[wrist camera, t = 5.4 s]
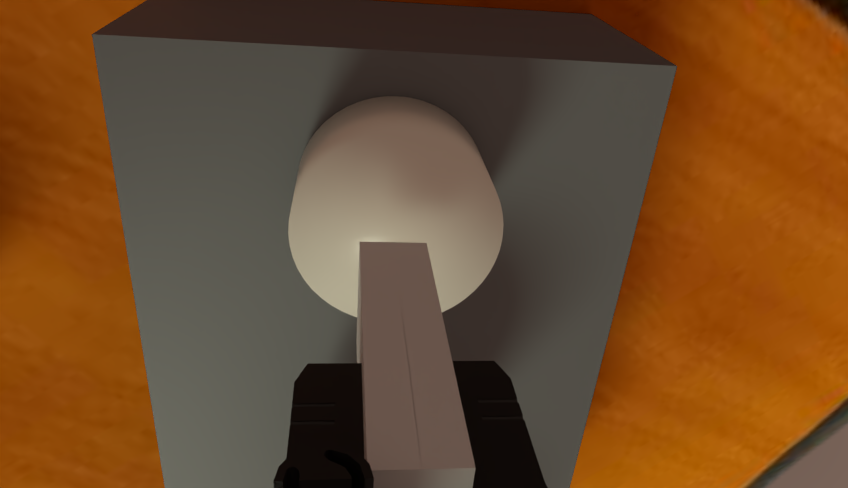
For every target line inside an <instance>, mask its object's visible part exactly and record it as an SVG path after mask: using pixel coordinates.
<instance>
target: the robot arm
mask: <svg viewBox="0 0 848 488" xmlns="http://www.w3.org/2000/svg"><path fill="white" fill-rule="evenodd" d="M356 344H357V363H308V364H307V365H306V367H305V368H304V369H303V371H302V372H301V373H300V375H299V376H298V378H297V379H296V380H295V382H294V390H293V400H292V409H291V419H290V428H289V438H288V447H287V457H286V460H285V461H284V462H283V463H282V464H281V465H280V466H279V467H278V470H277V473H276V475H275V478H274V481H273V485H274V488H548V487H547V485H546V483H545V481H544V478H543V475H542V472H541V469H540V466H539V463H538V460H537V457H536V454H535V451H534V448H533V445H532V442H531V438H530V435H529V432H528V429H527V426H526V423H525V420H523V414H522V411H521V408H520V405H519V403H518V402H517V396H516V393H515V390H514V387H513V384H512V380H511V378H510V377H509V376H508V375H507V374H506V373H505V372H504V370H503V369H502V368H501V367H500V366H499V365H498V364H497V363H496V362H495V361H452V357H451V353H450V348H449V344H448V339H447V334H446V330H445V325H444V321H443V316H442V311H441V307H440V302H439V298H438V293H437V289H436V284H435V279H434V275H433V270H432V266H431V261H430V256H429V252H428V247H427V243H413V242H360V243H359V275H358V307H357V339H356Z"/></svg>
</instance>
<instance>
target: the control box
mask: <svg viewBox="0 0 848 488" xmlns="http://www.w3.org/2000/svg"><path fill="white" fill-rule="evenodd" d="M92 37H93V43H94V50H95V56H96V62H97V68H98V75H99V81H100V87H101V93H102V99H103V106H104V112H105V118H106V124H107V130H108V137H109V143H110V149H111V155H112V162H113V168H114V174H115V180H116V186H117V193H118V199H119V205H120V211H121V217H122V224H123V230H124V236H125V242H126V249H127V255H128V261H129V267H130V273H131V280H132V286H133V292H134V298H135V305H136V311H137V317H138V323H139V329H140V336H141V342H142V348H143V354H144V360H145V367H146V373H147V379H148V385H149V392H150V398H151V404H152V410H153V416H154V423H155V429H156V435H157V441H158V447H159V454H160V460H161V466H162V472H163V479H164V485H165V488H274V485H273V481H274V478H275V475H276V473H277V470H278V467H279V466H280V465H281V464H282V463H283V462H284V461H285V460H286V457H287V447H288V438H289V428H290V419H291V409H292V400H293V390H294V382H295V380H296V379H297V378H298V376H299V375H300V373H301V372H302V371H303V369H304V368H305V367H306V365H307V364H308V363H357V344H356V339H357V317H354V316H352V315H349V314H347V313H345V312H342V311H340V310H339V309H337V308H335V307H333V306H331V305H330V304H329V303H327V302H326V301H324V300H323V299H322V298H320V297H319V296H318V295H317V294H316V293H315V292H314V291H313V290H312V289H311V288H310V286H309V285H308V284H307V283H306V281H305V280H304V279H303V277H302V276H301V274H300V272H299V271H298V269H297V267H296V264H295V262H294V259H293V257H292V253H291V249H290V245H289V236H288V226H289V216H290V211H291V206H292V201H293V195H294V190H295V185H296V180H297V175H298V170H299V165H300V161H301V158H302V155H303V152H304V150H305V148H306V146H307V144H308V142H309V140H310V139H311V138H312V136H313V135H314V133H315V132H316V131H317V130H318V129H319V128H320V126H321V125H322V124H323V123H324V122H325V121H326V120H328V119H329V118H330V117H332V116H333V115H334V114H335V113H337V112H339V111H340V110H342V109H344V108H345V107H347V106H350V105H352V104H354V103H357V102H359V101H363V100H367V99H370V98H376V97H383V96H400V97H409V98H414V99H418V100H422V101H425V102H427V103H430V104H432V105H435V106H437V107H438V108H440V109H442V110H444V111H446V112H447V113H448V114H450V115H451V116H452V117H454V118H455V119H456V120H457V121H458V122H459V123H460V124H461V125H462V126H463V127H464V128H465V129H466V131H467V132H468V133H469V134H470V136H471V137H472V139H473V141H474V143H475V144H476V146H477V148H478V151H479V153H480V155H481V157H482V160H483V162H484V164H485V166H486V169H487V171H488V173H489V176H490V178H491V180H492V182H493V185H494V187H495V189H496V192H497V194H498V197H499V200H500V203H501V208H502V212H503V225H504V226H503V238H502V243H501V247H500V251H499V254H498V256H497V259H496V261H495V263H494V265H493V267H492V269H491V271H490V272H489V274H488V275H487V277H486V278H485V279H484V281H483V282H482V283H481V284H480V285H479V286H478V288H477V289H476V290H475V291H474V292H473V293H471V294H470V295H469V296H468V297H467V298H466V299H464V300H463V301H461V302H460V303H458V304H457V305H455V306H454V307H452V308H450V309H448V310H446V311H444V312H442V316H443V321H444V325H445V330H446V334H447V339H448V344H449V348H450V353H451V357H452V361H495V362H496V363H497V364H498V365H499V366H500V367H501V368H502V369H503V370H504V372H505V373H506V374H507V375H508V376H509V377H510V378H511V380H512V384H513V387H514V390H515V393H516V396H517V402H518V403H519V405H520V408H521V411H522V414H523V420H525V423H526V426H527V429H528V432H529V435H530V438H531V442H532V445H533V448H534V451H535V454H536V457H537V460H538V463H539V466H540V469H541V472H542V475H543V478H544V481H545V483H546V485H547V487H548V488H569V487H570V484H571V480H572V476H573V472H574V468H575V464H576V460H577V456H578V452H579V448H580V444H581V440H582V437H583V433H584V429H585V425H586V421H587V417H588V413H589V409H590V405H591V401H592V397H593V393H594V390H595V386H596V382H597V378H598V374H599V370H600V366H601V362H602V358H603V354H604V350H605V346H606V343H607V339H608V335H609V331H610V327H611V323H612V319H613V315H614V311H615V307H616V303H617V300H618V296H619V292H620V288H621V284H622V280H623V276H624V272H625V268H626V264H627V260H628V256H629V253H630V249H631V245H632V241H633V237H634V233H635V229H636V225H637V221H638V217H639V213H640V209H641V206H642V202H643V198H644V194H645V190H646V186H647V182H648V178H649V174H650V170H651V166H652V162H653V159H654V155H655V151H656V147H657V143H658V139H659V135H660V131H661V127H662V123H663V119H664V115H665V112H666V108H667V104H668V100H669V96H670V92H671V88H672V84H673V80H674V76H675V72H676V68H677V66H676V65H674V64H673V63H671V62H669V61H668V60H666V59H664V58H663V57H661V56H659V55H658V54H656V53H655V52H653V51H651V50H650V49H648V48H646V47H645V46H643V45H641V44H640V43H638V42H636V41H635V40H633V39H632V38H630V37H628V36H627V35H625V34H623V33H622V32H620V31H618V30H617V29H615V28H613V27H612V26H610V25H608V24H607V23H605V22H604V21H602V20H600V19H599V18H597V17H595V16H594V15H592V14H580V13H564V12H548V11H532V10H516V9H500V8H484V7H468V6H452V5H436V4H421V3H405V2H389V1H373V0H147V1H145V2H143V3H142V4H140V5H139V6H137V7H135V8H134V9H132V10H130V11H129V12H127V13H126V14H124V15H122V16H121V17H119V18H118V19H116V20H114V21H113V22H111V23H109V24H108V25H106V26H105V27H103V28H101V29H100V30H98V31H97V32H95V33H93V34H92Z"/></svg>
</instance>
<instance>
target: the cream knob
mask: <svg viewBox="0 0 848 488" xmlns="http://www.w3.org/2000/svg"><path fill="white" fill-rule="evenodd" d="M503 226H504V225H503V212H502V208H501V203H500V200H499V197H498V194H497V192H496V189H495V187H494V185H493V182H492V180H491V178H490V176H489V173H488V171H487V169H486V166H485V164H484V162H483V160H482V157H481V155H480V153H479V151H478V148H477V146H476V144H475V143H474V141H473V139H472V137H471V136H470V134H469V133H468V132H467V131H466V129H465V128H464V127H463V126H462V125H461V124H460V123H459V122H458V121H457V120H456V119H455V118H454V117H452V116H451V115H450V114H448V113H447V112H446V111H444V110H442V109H440V108H438V107H437V106H435V105H432V104H430V103H427V102H425V101H422V100H418V99H414V98H409V97H400V96H383V97H376V98H370V99H367V100H363V101H359V102H357V103H354V104H352V105H350V106H347V107H345V108H344V109H342V110H340V111H339V112H337V113H335V114H334V115H333V116H332V117H330V118H329V119H328V120H326V121H325V122H324V123H323V124H322V125H321V126H320V128H319V129H318V130H317V131H316V132H315V133H314V135H313V136H312V138H311V139H310V140H309V142H308V144H307V146H306V148H305V150H304V152H303V155H302V158H301V161H300V165H299V170H298V175H297V180H296V185H295V190H294V195H293V201H292V206H291V211H290V216H289V226H288V236H289V245H290V249H291V253H292V257H293V259H294V262H295V264H296V267H297V269H298V271H299V272H300V274H301V276H302V277H303V279H304V280H305V281H306V283H307V284H308V285H309V286H310V288H311V289H312V290H313V291H314V292H315V293H316V294H317V295H318V296H319V297H320V298H322V299H323V300H324V301H326V302H327V303H329V304H330V305H331V306H333V307H335V308H337V309H339V310H340V311H342V312H345V313H347V314H349V315H352V316H354V317H357V307H358V275H359V243H360V242H413V243H427V247H428V252H429V256H430V261H431V266H432V270H433V275H434V279H435V284H436V289H437V293H438V298H439V302H440V307H441V311H442V312H444V311H446V310H448V309H450V308H452V307H454V306H455V305H457V304H458V303H460V302H461V301H463V300H464V299H466V298H467V297H468V296H469V295H470V294H471V293H473V292H474V291H475V290H476V289H477V288H478V286H479V285H480V284H481V283H482V282H483V281H484V279H485V278H486V277H487V275H488V274H489V272H490V271H491V269H492V267H493V265H494V263H495V261H496V259H497V256H498V254H499V251H500V247H501V243H502V238H503Z"/></svg>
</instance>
